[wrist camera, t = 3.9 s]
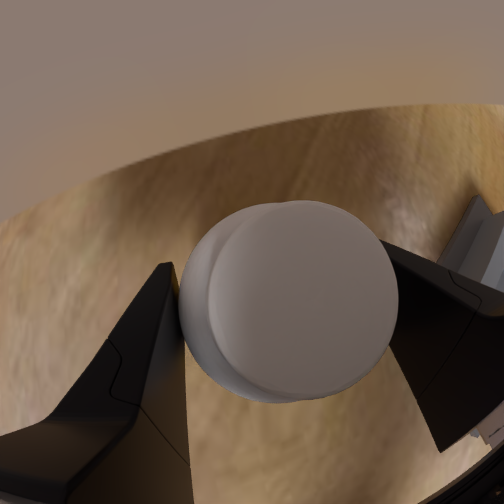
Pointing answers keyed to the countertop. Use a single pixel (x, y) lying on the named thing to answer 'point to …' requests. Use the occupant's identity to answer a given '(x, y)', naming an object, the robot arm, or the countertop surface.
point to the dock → (477, 248)
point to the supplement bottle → (288, 301)
